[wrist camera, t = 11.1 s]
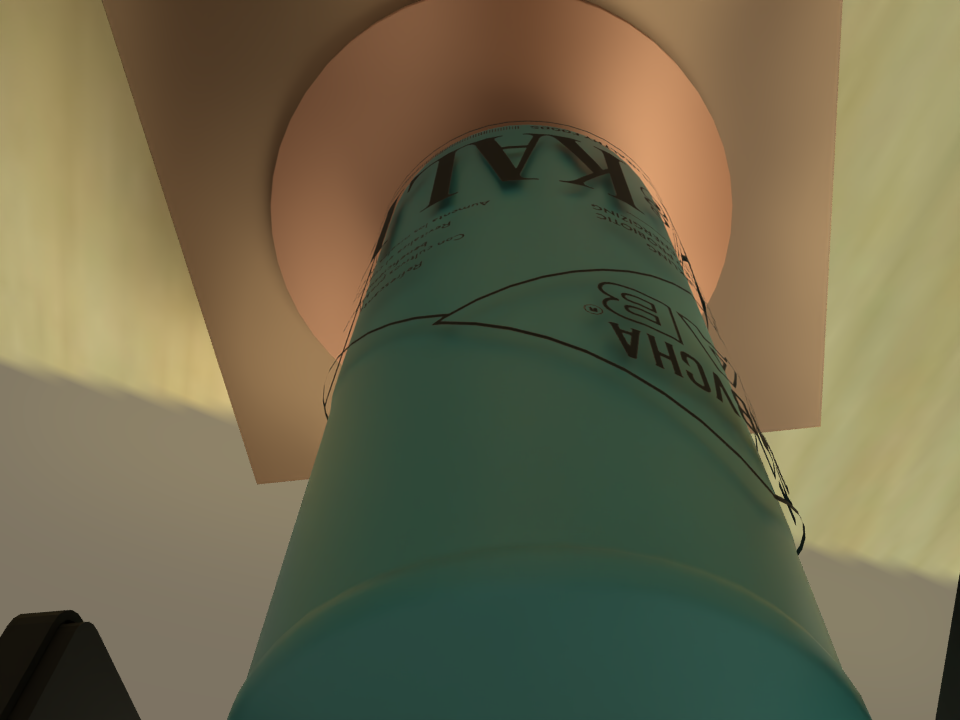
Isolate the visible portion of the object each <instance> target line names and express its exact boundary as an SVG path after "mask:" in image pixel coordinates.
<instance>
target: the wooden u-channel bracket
mask: <svg viewBox="0 0 960 720" xmlns="http://www.w3.org/2000/svg"><path fill="white" fill-rule="evenodd" d="M102 2H103V5H104V8H105V11H106V15H107V18H108V21H109V24H110V27H111V30H112V33H113V36H114V39H115V43H116V46H117V49H118V52H119V55H120V58H121V61H122V64H123V68H124V71H125V74H126V77H127V80H128V83H129V86H130V89H131V92H132V96H133V99H134V102H135V105H136V108H137V111H138V114H139V117H140V121H141V124H142V127H143V130H144V133H145V136H146V139H147V142H148V145H149V149H150V152H151V155H152V158H153V161H154V164H155V167H156V170H157V174H158V177H159V180H160V183H161V186H162V189H163V192H164V195H165V199H166V202H167V205H168V208H169V211H170V214H171V217H172V220H173V223H174V227H175V230H176V233H177V236H178V239H179V242H180V245H181V248H182V252H183V255H184V258H185V261H186V264H187V267H188V270H189V273H190V276H191V280H192V283H193V286H194V289H195V292H196V295H197V298H198V301H199V305H200V308H201V311H202V314H203V317H204V320H205V323H206V326H207V329H208V333H209V336H210V339H211V342H212V345H213V348H214V351H215V354H216V358H217V361H218V364H219V367H220V370H221V373H222V376H223V379H224V383H225V386H226V389H227V392H228V395H229V398H230V401H231V404H232V407H233V411H234V414H235V417H236V420H237V423H238V426H239V429H240V432H241V435H242V439H243V441H244V444H245V448H246V451H247V454H248V457H249V460H250V464H251V467H252V470H253V473H254V476H255V479H256V482H257V484H265V483H274V482H285V481H295V480H304V479H309V478H310V475H311V472H312V469H313V465H314V462H315V459H316V456H317V453H318V449H319V446H320V443H321V440H322V437H323V434H324V430H325V427H326V424H327V421H328V420H327V418H326V415H325V411H324V405H323V391H324V403H325V402H326V399H327V395H328V392H329V390H330V387H331V384H332V381H333V378H334V375H335V372H336V369H337V366H338V363H339V360H340V357H341V356H340V357H339V358H338V359H337V357H338V356H339V355H340V354H341V353H342V352H343V349H344V346H345V343H346V340H347V337H348V334H349V331H350V328H351V325H352V322H353V320H354V317H355V314H356V312H355V311H356V309H357V308H358V305H359V302H360V299H361V296H362V293H363V292H362V290H364V287H365V284H366V281H367V278H368V276H369V273H371V272H374V271H373V269H375V266H376V257H375V260H374V259H373V260H372V262H371V259H372V257H373V254H374V251H375V248H376V245H377V243H376V242H378V241H377V240H379V239H378V238H379V237H380V234H381V231H382V228H383V225H384V223H385V220H386V217H387V213H388V211H389V209H390V207H391V206H392V204H393V203H394V202H395V200H396V199H397V197H398V196H399V197H398V199H397V202H396V205H395V208H396V206H397V204H398V202H399V200H400V198H401V196H402V194H403V193H404V191H405V189H406V188H407V186H408V185H409V184H410V182H411V181H412V180H413V178H414V177H415V176H416V175H417V173H418V172H419V171H420V170H421V169H422V168H423V167H424V166H425V165H426V162H427V163H428V160H429V159H431V160H432V158H434V157H435V154H436V156H437V153H438V152H439V153H440V151H441V152H442V150H445V148H447V147H449V146H450V145H452V144H454V143H456V142H458V141H460V140H462V139H464V138H467V137H469V136H471V135H473V134H476V133H479V132H482V131H485V130H489V129H493V128H498V127H504V126H510V125H542V126H551V127H556V128H562V129H566V130H569V131H573V132H576V133H579V134H582V135H584V136H586V137H587V136H588V137H589V138H591V139H595V140H596V141H597V142H601V143H602V145H604V146H606V145H607V146H608V149H611V148H612V149H611V151H613V152H614V153H615V151H616V152H618V153H619V154H620V155H622V156H624V157H625V158H622V157H621V156H620V155H619V154H618V153H617V155H618V156H619V157H620V158H621V159H622V160H623V161H625V162H626V163H627V164H628V165H629V166H630V167H631V168H632V169H633V171H634V172H635V173H636V174H637V175H638V176H639V177H640V179H641V180H642V182H643V183H644V185H645V186H646V188H647V189H648V191H649V192H650V194H651V195H652V198H653V200H654V199H655V200H656V201H657V202H656V201H655V200H654V202H655V203H656V204H657V205H658V204H659V205H660V206H661V208H662V209H661V208H660V206H659V205H658V207H659V208H660V210H661V211H659V210H658V211H659V212H660V213H661V214H660V215H662V214H663V215H664V213H665V215H666V217H667V219H668V221H667V220H666V218H664V219H665V220H666V221H667V223H668V225H669V227H670V228H669V227H667V226H666V225H665V224H664V225H665V228H666V230H667V232H668V235H669V237H670V240H671V242H672V245H673V247H674V249H675V247H676V251H677V252H678V250H679V256H678V253H677V252H676V254H677V257H678V259H679V261H680V260H681V262H682V257H681V253H682V255H685V253H686V255H687V258H688V260H689V262H690V264H691V269H692V270H693V274H694V277H695V279H696V282H697V283H698V287H699V286H700V288H699V290H700V289H701V290H700V292H701V294H703V295H702V297H703V296H704V298H705V299H704V298H703V299H704V301H705V300H706V301H705V302H706V303H705V306H706V305H707V306H708V307H707V306H706V312H707V316H708V317H707V318H708V329H707V330H708V332H709V334H710V337H711V339H712V342H713V344H714V347H715V349H716V350H717V351H718V352H719V353H720V354H721V355H722V357H723V358H725V357H726V359H727V360H728V361H727V362H726V361H725V360H724V359H723V358H722V357H721V356H720V355H719V354H718V352H717V354H718V356H719V357H720V358H721V359H722V360H723V361H724V362H725V364H726V365H727V367H726V370H725V373H726V376H727V378H728V379H729V380H730V382H731V383H732V384H733V382H734V370H735V372H736V373H737V386H736V388H735V387H734V386H733V385H732V384H731V383H730V382H729V383H730V385H731V388H732V390H733V391H734V392H735V393H736V394H737V395H738V396H739V397H740V398H741V399H742V401H743V402H744V403H745V405H746V408H747V410H748V412H749V415H750V412H751V413H752V415H753V414H754V413H755V414H754V415H753V417H755V416H756V417H755V418H754V419H755V421H756V419H757V421H756V424H757V423H758V424H757V426H759V429H760V430H759V431H761V433H762V431H763V432H771V431H781V430H791V429H801V428H810V427H820V426H821V408H822V388H823V369H824V350H825V330H826V311H827V292H828V272H829V253H830V234H831V214H832V195H833V176H834V156H835V137H836V118H837V98H838V79H839V60H840V40H841V21H842V2H843V0H102ZM511 121H528V122H511ZM529 121H544V122H529ZM503 122H509V123H503ZM546 122H553V123H558V124H553V123H546ZM498 123H503V124H498ZM493 124H497V125H493ZM559 124H564V125H559ZM488 125H492V126H488ZM565 125H569V126H572V127H569V126H565ZM484 126H487V127H484ZM481 127H484V128H481ZM573 127H575V128H573ZM478 128H481V129H478ZM576 128H578V129H576ZM475 129H478V130H475ZM579 129H581V130H579ZM472 130H475V131H472ZM582 130H585V131H588V132H590V133H592V134H594V135H596V136H598V137H596V136H594V135H592V134H590V133H588V132H585V131H582ZM469 131H472V132H469ZM467 132H469V133H467ZM465 133H467V134H465ZM463 134H464V135H463ZM461 135H462V136H461ZM458 136H460V137H458ZM456 137H458V138H456ZM599 137H600V138H599ZM454 138H456V139H454ZM601 138H602V139H601ZM452 139H454V140H452ZM603 139H605V140H606V141H605V140H603ZM450 140H452V141H450ZM449 141H450V142H449ZM607 141H608V142H609V143H608V142H607ZM447 142H448V143H447ZM446 143H447V144H446ZM610 143H611V144H612V145H611V144H610ZM444 144H445V145H444ZM442 145H444V146H442ZM613 145H614V146H615V147H614V146H613ZM441 146H442V147H441ZM439 147H440V148H439ZM616 147H617V148H618V149H617V148H616ZM438 148H439V149H438ZM436 149H437V150H436ZM619 149H620V150H621V151H620V150H619ZM435 150H436V151H435ZM614 150H615V151H614ZM433 151H434V152H433ZM622 151H623V152H624V153H625V154H626V155H627V156H626V155H625V154H624V153H623V152H622ZM432 152H433V153H432ZM431 153H432V154H431ZM439 153H438V154H439ZM430 154H431V155H430ZM615 154H616V153H615ZM428 155H429V156H428ZM427 156H428V157H427ZM433 156H434V157H433ZM426 157H427V158H426ZM431 157H432V158H431ZM425 158H426V159H425ZM630 158H631V159H632V160H633V161H634V162H635V163H634V162H633V161H632V160H631V159H630ZM422 160H423V161H422ZM627 160H629V161H630V162H631V163H632V165H631V164H630V163H629V162H628V161H627ZM421 161H422V162H421ZM429 161H430V160H429ZM420 162H421V163H420ZM419 163H420V164H419ZM424 163H425V165H424ZM418 164H419V165H418ZM417 165H418V166H417ZM422 165H423V167H422ZM633 165H634V166H635V167H636V168H638V169H639V171H640V172H639V171H638V170H637V169H636V168H634V167H633ZM637 165H638V166H639V167H640V168H641V169H640V168H639V167H638V166H637ZM416 166H417V167H416ZM420 166H421V168H420ZM415 167H416V168H415ZM414 168H415V169H414ZM418 168H419V169H418ZM413 169H414V170H413ZM412 170H413V171H412ZM416 170H418V171H416ZM411 171H412V172H411ZM414 172H415V173H414ZM644 173H645V174H646V175H647V176H648V177H647V176H646V175H645V174H644ZM412 174H413V176H412ZM642 174H643V175H644V176H645V177H646V178H644V176H643V175H642ZM410 176H411V178H409V177H410ZM405 178H406V179H405ZM407 179H409V181H408V180H407ZM646 179H647V180H648V181H647V180H646ZM649 179H650V180H649ZM403 181H404V182H403ZM406 181H407V183H405V182H406ZM402 182H403V183H402ZM651 182H652V183H651ZM403 184H405V185H404V186H402V185H403ZM650 184H651V185H652V186H653V185H654V186H653V187H652V186H651V185H650ZM400 185H401V186H400ZM398 188H399V189H398ZM400 188H402V189H401V190H400ZM404 188H405V189H404ZM653 188H654V189H653ZM655 188H656V189H655ZM403 189H404V190H403ZM399 191H400V192H399ZM657 191H658V192H657ZM398 192H399V193H398ZM397 193H398V194H397ZM400 193H401V194H400ZM394 194H395V195H394ZM657 194H658V195H657ZM396 195H397V196H396ZM656 195H657V196H656ZM393 196H394V197H395V196H396V197H395V198H394V197H393ZM392 198H393V199H394V200H393V199H392ZM658 198H659V199H658ZM660 198H661V199H660ZM391 200H392V201H391ZM661 200H662V201H661ZM660 201H661V202H660ZM391 202H392V203H391ZM661 203H662V204H663V205H662V204H661ZM390 204H391V205H390ZM663 206H664V207H665V209H667V210H666V211H667V212H668V214H667V212H666V211H665V209H664V207H663ZM395 208H394V211H395ZM387 210H388V211H387ZM662 210H663V211H662ZM394 211H393V213H394ZM386 212H387V213H386ZM663 212H664V213H663ZM668 215H669V216H668ZM392 216H393V214H392ZM669 217H670V218H671V220H670V219H669ZM661 218H662V220H663V222H665V220H664V219H663V217H662V216H661ZM391 219H392V217H391ZM383 220H384V221H383ZM670 221H672V223H671V222H670ZM382 222H383V223H382ZM390 222H391V220H390ZM381 224H382V225H381ZM389 224H390V223H389ZM671 224H673V225H674V227H673V225H671ZM388 227H389V226H388ZM380 228H381V229H380ZM672 228H675V229H673V230H672ZM387 230H388V229H387ZM675 230H676V231H675ZM674 231H675V232H674ZM676 232H677V233H676ZM379 233H380V234H379ZM386 233H387V232H386ZM673 233H674V235H673ZM675 234H676V235H675ZM677 235H678V236H677ZM385 236H386V235H385ZM675 236H676V237H677V240H676V237H675ZM678 237H679V238H678ZM384 239H385V238H384ZM674 239H675V241H674ZM679 239H680V240H679ZM676 241H677V242H676ZM680 241H681V243H680ZM383 242H384V241H383ZM677 243H678V244H677ZM375 244H376V245H375ZM681 244H682V245H681ZM382 245H383V244H382ZM677 245H678V247H677ZM374 246H375V247H374ZM682 246H683V248H684V251H685V253H684V251H683V248H682ZM373 247H374V249H373ZM372 249H373V251H372ZM680 249H681V251H680ZM380 251H381V249H380ZM380 251H379V252H378V254H377V255H376V256H377V260H378V257H379V254H380ZM371 252H372V253H371ZM373 261H374V263H373ZM370 262H371V263H370ZM683 263H684V264H685V265H686V266H685V265H684V264H683V265H684V266H683V270H684V269H685V270H686V271H687V272H688V271H690V272H688V274H689V276H690V278H691V279H690V278H689V277H688V274H687V272H686V271H685V270H684V274H685V275H686V277H687V278H688V280H690V281H691V283H693V282H695V281H694V278H692V277H693V274H692V271H691V269H690V266H689V264H688V262H685V261H683ZM372 264H373V266H372ZM680 264H681V266H682V263H680ZM368 266H369V267H368ZM371 267H372V269H371ZM686 267H687V268H686ZM367 268H368V269H367ZM687 269H688V270H687ZM366 270H367V271H366ZM370 270H371V272H370ZM365 272H366V273H365ZM690 273H691V274H690ZM364 274H365V275H364ZM372 275H373V273H371V275H370V276H369V278H368V281H367V284H368V285H367V284H366V287H365V290H364V293H363V296H362V299H361V302H362V301H363V300H364V298H365V295H366V291H367V289H368V287H369V284H370V282H369V281H370V277H371V278H372ZM691 275H692V276H691ZM363 276H364V277H363ZM362 278H363V279H362ZM365 280H366V281H365ZM688 280H687V281H688ZM692 280H693V281H692ZM364 282H365V283H364ZM688 283H689V282H688ZM693 285H694V286H695V287H694V286H693ZM689 286H690V288H691V291H692V293H693V296H694V298H695V300H696V301H697V302H698V303H697V302H696V303H697V305H698V304H699V305H700V306H701V307H700V306H699V305H698V308H699V310H700V313H701V315H702V317H703V320H704V322H705V325H706V327H707V321H706V317H705V313H704V311H703V310H702V309H703V307H702V304H701V300H700V297H699V294H698V292H697V291H696V289H697V288H696V285H695V283H693V284H692V285H691V284H690V283H689ZM361 287H362V288H361ZM358 288H359V289H358ZM695 288H696V289H695ZM359 291H360V292H359ZM361 292H362V293H361ZM360 293H361V294H360ZM357 294H358V295H357ZM359 295H360V296H359ZM355 298H356V299H355ZM362 303H363V302H362ZM359 307H360V306H359ZM361 307H362V304H361ZM701 308H702V309H701ZM708 308H710V310H709V309H708ZM710 312H711V313H712V314H711V313H710ZM353 313H354V314H353ZM359 313H360V308H358V311H357V314H356V317H355V320H354V323H353V326H352V329H351V332H350V335H349V337H348V340H347V343H346V346H345V349H346V348H347V347H348V346H349V343H350V340H351V337H352V334H353V331H354V328H355V325H356V322H357V319H358V316H359ZM351 316H352V317H351ZM713 317H714V319H713ZM350 318H351V319H350ZM709 319H710V320H709ZM712 319H713V320H712ZM714 320H715V321H714ZM710 321H711V322H710ZM348 322H349V323H348ZM712 324H713V325H712ZM715 325H716V326H717V328H716V330H717V329H718V331H717V332H716V330H715V327H716V326H715ZM346 326H347V327H346ZM713 326H715V327H713ZM344 329H345V331H344ZM718 334H719V335H718ZM719 336H720V337H719ZM720 339H722V340H720ZM722 341H723V342H724V343H723V342H722ZM724 344H725V345H724ZM345 349H344V350H345ZM346 352H347V350H346V351H345V352H344V353H343V355H342V358H341V361H340V364H339V367H338V370H337V373H336V376H335V379H334V381H333V384H332V387H331V390H330V393H329V396H328V399H327V403H326V406H325V408H326V413H327V415H328V418H329V414H330V409H331V401H332V395H333V392H334V389H335V385H336V382H337V379H338V376H339V373H340V370H341V367H342V364H343V361H344V358H345V355H346ZM729 355H730V356H729ZM720 358H719V359H720ZM336 359H337V360H336ZM721 359H720V361H721V364H722V365H723V362H722V360H721ZM335 361H336V362H335ZM334 362H335V364H334ZM729 363H730V364H729ZM333 364H334V365H333ZM332 365H333V367H332ZM731 366H732V367H731ZM331 367H332V368H331ZM330 368H331V370H330ZM735 368H736V369H735ZM733 369H734V370H733ZM329 370H330V371H329ZM736 370H737V371H736ZM739 377H740V378H739ZM740 380H741V381H740ZM741 383H742V384H741ZM324 384H325V387H324ZM742 386H743V387H742ZM743 389H745V390H743ZM746 394H747V395H746ZM736 398H737V397H736ZM737 400H738V403H739V405H740V406H741V408H742V409H743V410H744V411H745V408H744V406H743V404H742V402H741V401H740V400H739V399H738V398H737ZM749 400H750V401H749ZM750 403H751V405H750ZM748 404H749V405H748ZM749 407H750V410H749ZM751 407H752V408H751ZM753 409H754V410H753ZM752 410H753V412H752ZM745 412H746V411H745ZM743 414H744V413H743ZM744 417H745V419H746V421H747V422H748V423H749V424H750V426H751V427H752V425H751V422H750V420H749V418H748V417H747V416H746V415H745V414H744ZM750 417H751V415H750ZM752 421H753V424H754V426H755V429H756V425H755V423H754V420H753V418H752ZM746 424H747V423H746ZM747 427H748V429H749V432H750V434H752V433H754V432H753V431H752V429H751V428H750V427H749V426H748V425H747ZM752 428H753V427H752ZM756 431H757V432H758V430H756ZM758 433H759V432H758Z"/></svg>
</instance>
